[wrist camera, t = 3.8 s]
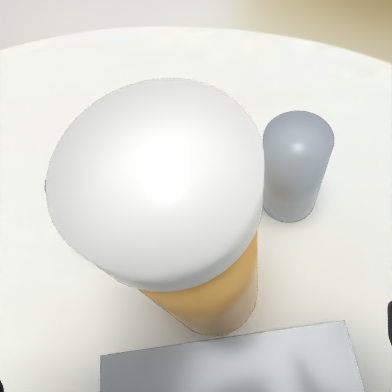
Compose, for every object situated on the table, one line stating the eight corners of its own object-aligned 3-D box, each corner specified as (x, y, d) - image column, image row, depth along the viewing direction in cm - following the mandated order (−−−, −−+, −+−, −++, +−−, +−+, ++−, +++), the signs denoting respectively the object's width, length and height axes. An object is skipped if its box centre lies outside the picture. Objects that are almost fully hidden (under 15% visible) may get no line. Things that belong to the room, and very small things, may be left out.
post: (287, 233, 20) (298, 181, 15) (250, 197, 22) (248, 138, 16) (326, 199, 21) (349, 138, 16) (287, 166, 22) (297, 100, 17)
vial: (207, 360, 18) (121, 327, 7) (150, 285, 20) (10, 160, 9) (280, 295, 19) (315, 165, 8) (218, 228, 21) (172, 48, 10)
